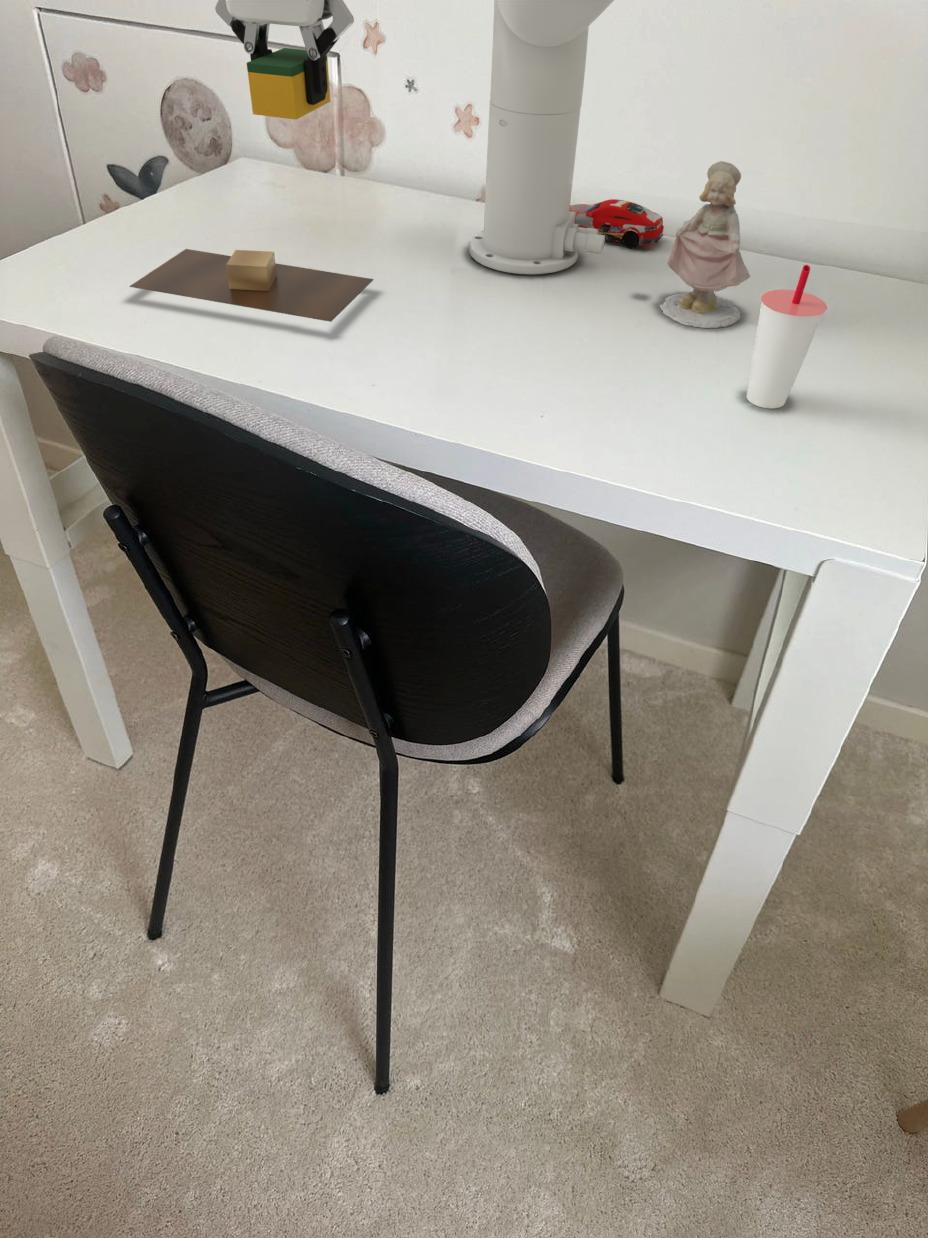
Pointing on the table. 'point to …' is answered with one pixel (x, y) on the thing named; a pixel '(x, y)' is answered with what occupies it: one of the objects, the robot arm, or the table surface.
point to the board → (287, 294)
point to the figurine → (709, 255)
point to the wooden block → (251, 270)
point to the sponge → (281, 84)
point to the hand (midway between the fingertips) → (291, 96)
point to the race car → (620, 221)
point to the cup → (782, 342)
